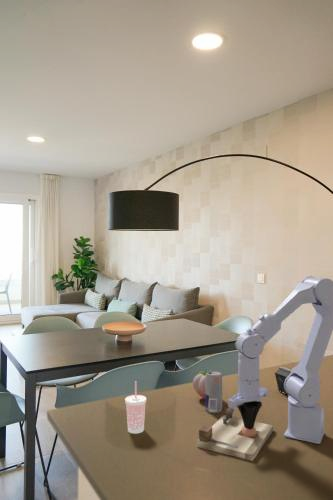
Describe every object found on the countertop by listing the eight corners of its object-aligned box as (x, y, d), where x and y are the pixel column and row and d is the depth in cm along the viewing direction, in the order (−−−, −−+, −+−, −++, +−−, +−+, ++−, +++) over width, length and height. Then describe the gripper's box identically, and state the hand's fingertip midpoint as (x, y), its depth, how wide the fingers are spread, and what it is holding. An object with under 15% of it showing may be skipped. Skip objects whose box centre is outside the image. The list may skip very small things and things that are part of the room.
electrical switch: (304, 397, 143) (303, 371, 142) (294, 401, 140) (292, 375, 140) (284, 389, 151) (282, 364, 151) (274, 393, 148) (272, 368, 148)
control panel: (273, 430, 117) (273, 420, 117) (252, 461, 100) (252, 449, 100) (223, 420, 124) (223, 410, 124) (196, 446, 107) (196, 436, 107)
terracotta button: (257, 437, 113) (257, 426, 113) (253, 442, 109) (253, 431, 109) (244, 434, 114) (244, 423, 114) (240, 439, 111) (240, 428, 111)
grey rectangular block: (230, 417, 121) (234, 409, 121) (227, 420, 119) (230, 413, 118) (228, 415, 122) (232, 408, 121) (224, 419, 119) (228, 411, 119)
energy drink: (211, 405, 135) (211, 369, 135) (225, 409, 132) (225, 372, 132) (202, 410, 131) (202, 373, 131) (216, 415, 128) (216, 376, 128)
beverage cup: (137, 423, 122) (136, 376, 122) (150, 430, 117) (150, 381, 117) (120, 429, 118) (120, 381, 117) (134, 436, 113) (134, 386, 113)
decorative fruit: (224, 400, 140) (224, 371, 140) (206, 405, 135) (206, 375, 135) (207, 392, 148) (207, 364, 148) (188, 397, 143) (188, 368, 143)
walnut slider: (212, 436, 109) (212, 427, 109) (207, 441, 107) (207, 431, 106) (203, 434, 110) (203, 425, 110) (199, 439, 108) (199, 429, 108)
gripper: (242, 387, 104) (242, 441, 104) (277, 376, 113) (277, 425, 113) (222, 380, 110) (222, 431, 110) (256, 370, 119) (256, 417, 119)
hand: (248, 427), depth 112 cm, fingers closed, pressing on terracotta button
